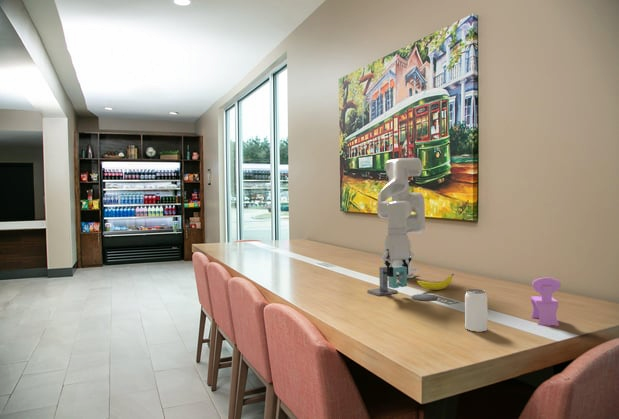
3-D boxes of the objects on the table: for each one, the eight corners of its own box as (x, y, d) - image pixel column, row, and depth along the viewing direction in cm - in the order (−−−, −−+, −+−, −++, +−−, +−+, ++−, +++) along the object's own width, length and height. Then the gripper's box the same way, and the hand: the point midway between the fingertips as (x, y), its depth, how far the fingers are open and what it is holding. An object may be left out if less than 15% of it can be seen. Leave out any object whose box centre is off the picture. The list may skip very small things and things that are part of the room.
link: (402, 285, 184) (401, 265, 184) (407, 286, 181) (406, 266, 181) (388, 287, 181) (388, 267, 180) (393, 288, 178) (393, 268, 178)
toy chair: (554, 318, 148) (554, 273, 147) (563, 326, 139) (563, 278, 139) (527, 317, 150) (527, 273, 149) (534, 324, 141) (534, 278, 140)
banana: (415, 291, 191) (414, 277, 191) (451, 287, 198) (451, 273, 197) (419, 293, 188) (418, 278, 188) (455, 288, 195) (455, 274, 195)
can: (461, 326, 141) (461, 289, 140) (481, 325, 141) (481, 288, 141) (470, 333, 134) (470, 293, 134) (491, 332, 135) (491, 292, 134)
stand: (385, 289, 196) (385, 264, 196) (413, 297, 180) (413, 270, 180) (367, 292, 191) (366, 266, 191) (394, 300, 176) (393, 272, 175)
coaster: (424, 294, 186) (424, 293, 186) (442, 298, 177) (442, 297, 177) (406, 297, 181) (406, 296, 181) (423, 302, 172) (423, 301, 172)
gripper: (407, 230, 188) (408, 271, 188) (374, 232, 179) (375, 276, 180) (419, 231, 181) (420, 274, 182) (385, 234, 173) (386, 279, 173)
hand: (397, 275), depth 181 cm, fingers closed on link, 7 cm apart
